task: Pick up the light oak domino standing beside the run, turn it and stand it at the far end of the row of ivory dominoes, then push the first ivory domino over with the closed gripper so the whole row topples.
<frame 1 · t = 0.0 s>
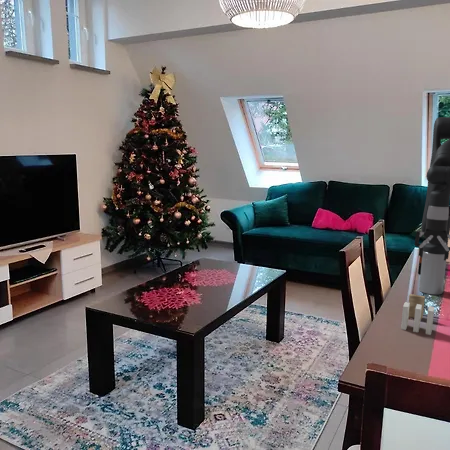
hand: (433, 258, 178), 17 cm above the table, tool pointing down, fingers open, 8 cm apart
sprinkles bottle: (426, 266, 234), on the table
domino 1: (428, 331, 149), on the table
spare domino: (414, 317, 162), on the table
crayon box: (428, 260, 247), on the table
domino 2: (416, 329, 151), on the table
battery: (423, 273, 221), on the table
domino 3: (404, 327, 153), on the table
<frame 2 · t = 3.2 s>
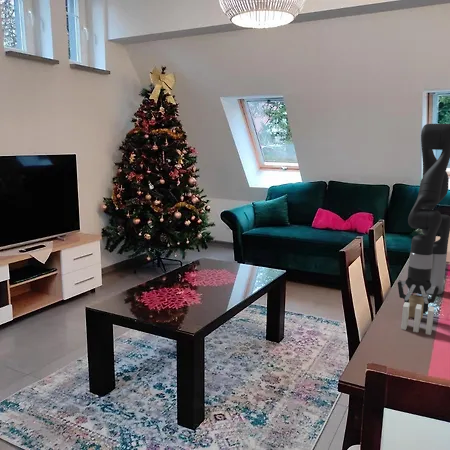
hand: (415, 311, 162), 2 cm above the table, tool pointing down, fingers closed on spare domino, 5 cm apart
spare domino: (414, 317, 162), on the table, touching gripper
everything else where it was.
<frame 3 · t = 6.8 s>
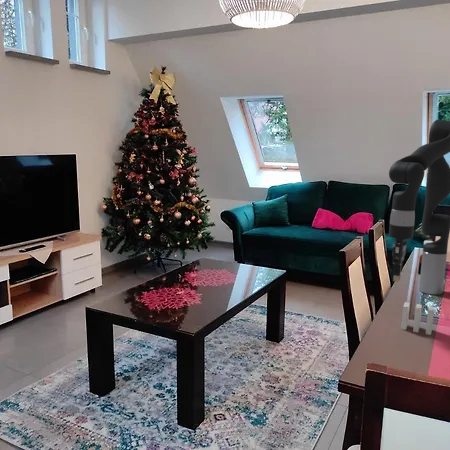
hand: (397, 273, 152), 18 cm above the table, tool pointing down, fingers closed on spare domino, 5 cm apart
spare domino: (396, 279, 152), point 16 cm above the table, touching gripper
everything else where it was.
when the fingers open (3 cm above the table, at t = 9.9 s): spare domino stays where it is, on the table.
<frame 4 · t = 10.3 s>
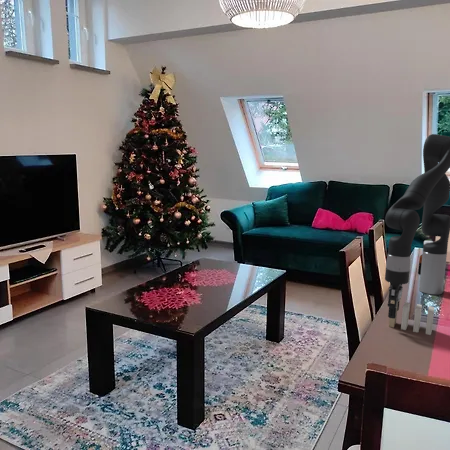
hand: (393, 313, 154), 4 cm above the table, tool pointing down, fingers open, 8 cm apart
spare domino: (392, 324, 155), on the table
everything else where it was.
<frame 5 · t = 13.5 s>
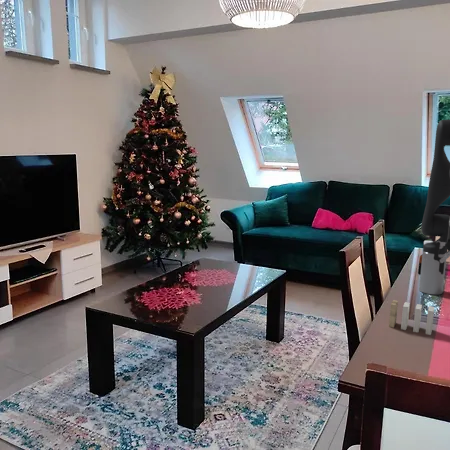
nothing on the table moved.
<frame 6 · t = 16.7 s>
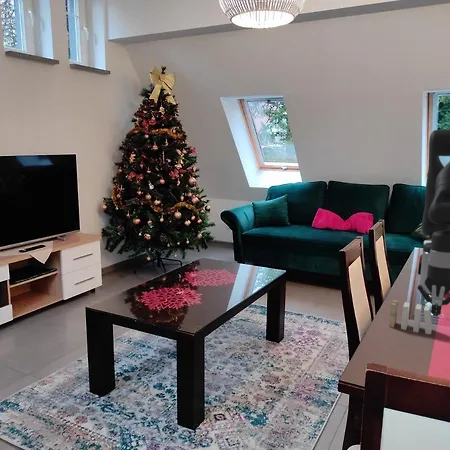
hand: (435, 315, 148), 6 cm above the table, tool pointing down, fingers closed
domino 1: (428, 331, 149), on the table, tilted 9°
everything else where it was.
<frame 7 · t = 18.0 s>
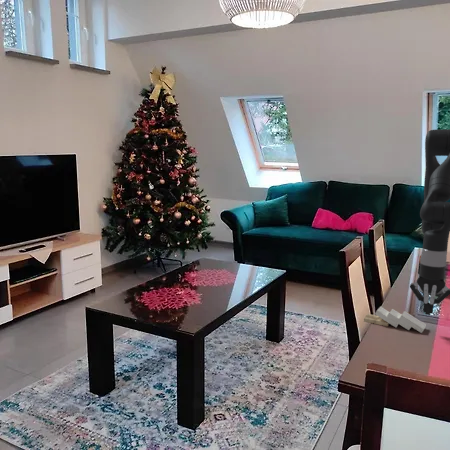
hand: (427, 313, 149), 6 cm above the table, tool pointing down, fingers closed
domino 1: (423, 328, 150), point 1 cm above the table, tilted 66°, touching domino 2
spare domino: (389, 322, 155), on the table, tilted 90°
domino 2: (411, 326, 152), point 1 cm above the table, tilted 66°, touching domino 1, domino 3
domino 3: (398, 323, 154), point 1 cm above the table, tilted 66°, touching domino 2
everything else where it was.
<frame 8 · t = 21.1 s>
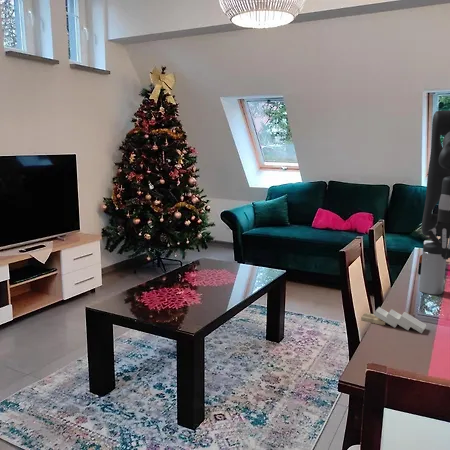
hand: (445, 258, 153), 23 cm above the table, tool pointing down, fingers closed
domino 1: (424, 329, 150), point 1 cm above the table, tilted 67°, touching domino 2
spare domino: (386, 321, 156), point 1 cm above the table, tilted 90°
at the end: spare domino tilted 90°; domino 1 tilted 67°; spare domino inside the target area (0.9 cm from its centre), point 0.6 cm above the table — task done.
